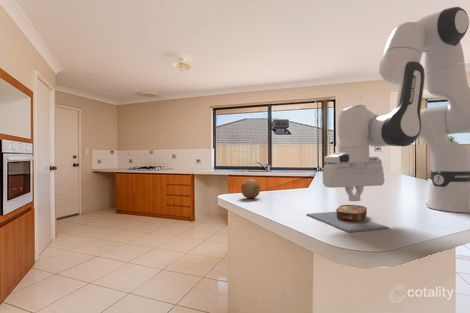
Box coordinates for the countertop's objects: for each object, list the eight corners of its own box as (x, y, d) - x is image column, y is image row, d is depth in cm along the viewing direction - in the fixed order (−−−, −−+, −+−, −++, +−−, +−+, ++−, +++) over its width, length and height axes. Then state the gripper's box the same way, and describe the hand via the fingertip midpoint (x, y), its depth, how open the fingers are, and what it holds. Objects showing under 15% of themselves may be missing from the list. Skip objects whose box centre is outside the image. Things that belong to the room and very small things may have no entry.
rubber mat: (338, 212, 91) (338, 211, 91) (388, 228, 70) (388, 227, 70) (306, 215, 88) (306, 213, 88) (348, 232, 67) (348, 231, 67)
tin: (363, 214, 75) (333, 209, 79) (362, 224, 75) (332, 219, 79) (368, 206, 87) (342, 202, 92) (367, 215, 87) (342, 210, 92)
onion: (250, 200, 120) (249, 180, 121) (237, 198, 128) (236, 179, 128) (264, 198, 127) (264, 178, 127) (251, 196, 134) (250, 177, 134)
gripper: (373, 156, 85) (374, 197, 85) (319, 157, 80) (320, 200, 80) (389, 156, 79) (390, 200, 78) (331, 157, 74) (332, 204, 74)
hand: (354, 200), depth 79 cm, fingers closed
